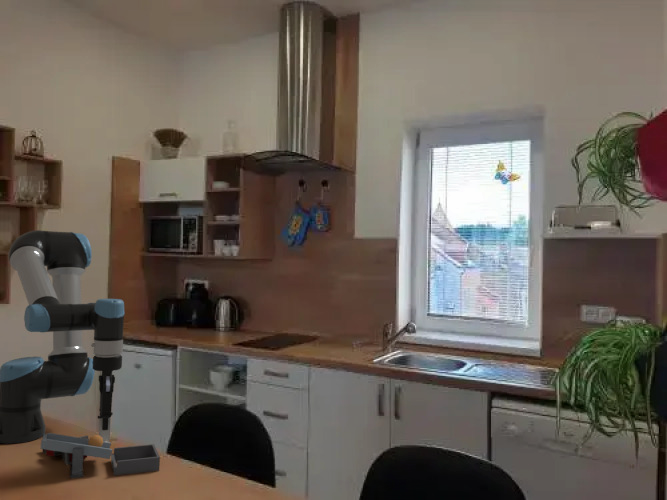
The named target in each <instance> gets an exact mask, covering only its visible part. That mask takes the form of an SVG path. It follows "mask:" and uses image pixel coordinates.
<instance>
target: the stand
mask: <svg viewBox="0 0 667 500" xmlns="http://www.w3.org/2000/svg"><path fill="white" fill-rule="evenodd" d="M83 451H84V447H83V448H73V454H72V464H70V465H69V472H70V473H69V476H70V477H69V478H70V479H77V478H84V464H83V463H84V459H83Z"/></svg>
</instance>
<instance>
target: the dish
mask: <svg viewBox="0 0 667 500" xmlns="http://www.w3.org/2000/svg"><path fill="white" fill-rule="evenodd" d="M110 462H111V468H112V472H113V476H122V475H132V474H140V473H141V474H142V473H149V472H156V471H157V472H159V471H160V462H161V456H160V454H159V451H158V450H157V448H156V445H155V443H154V444H153V443H152V444H143V445H131V446H121V447H119V446H118V447H113V452H112V453H111V456H110Z"/></svg>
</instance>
